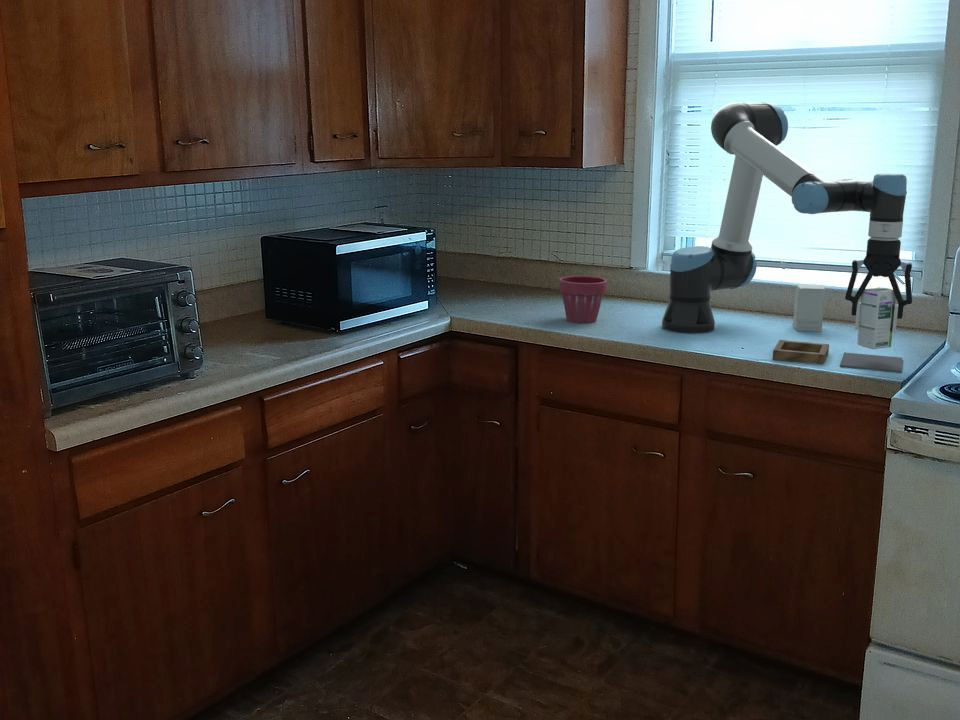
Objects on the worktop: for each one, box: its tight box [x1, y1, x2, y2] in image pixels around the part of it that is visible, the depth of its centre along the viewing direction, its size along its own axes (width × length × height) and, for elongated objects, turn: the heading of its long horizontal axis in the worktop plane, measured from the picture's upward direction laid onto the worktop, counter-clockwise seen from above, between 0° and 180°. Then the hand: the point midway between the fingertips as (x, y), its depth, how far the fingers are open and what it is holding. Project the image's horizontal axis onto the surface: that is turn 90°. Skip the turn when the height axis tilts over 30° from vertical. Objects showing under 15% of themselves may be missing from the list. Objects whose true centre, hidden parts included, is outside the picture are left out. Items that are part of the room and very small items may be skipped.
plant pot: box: [558, 275, 608, 324], centre depth 286 cm, size 14×14×13 cm
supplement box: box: [792, 284, 826, 333], centre depth 274 cm, size 7×7×13 cm
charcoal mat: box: [839, 351, 903, 374], centre depth 237 cm, size 14×14×1 cm
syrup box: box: [857, 287, 896, 350], centre depth 234 cm, size 6×6×14 cm
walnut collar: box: [772, 339, 830, 365], centre depth 243 cm, size 12×12×2 cm
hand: (875, 329), depth 235 cm, fingers closed on syrup box, 8 cm apart
